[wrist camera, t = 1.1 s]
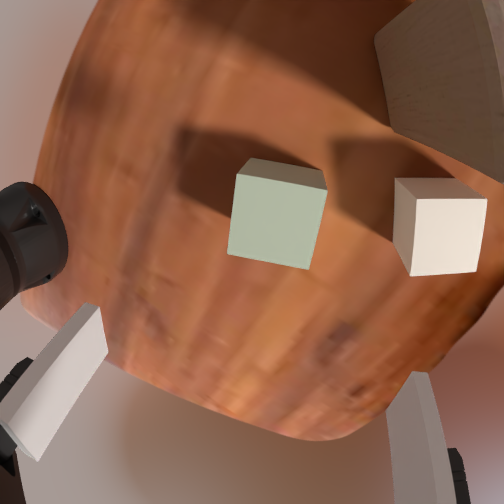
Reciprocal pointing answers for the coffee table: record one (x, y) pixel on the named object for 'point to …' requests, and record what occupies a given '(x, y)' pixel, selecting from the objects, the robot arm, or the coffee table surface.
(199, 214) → the coffee table surface
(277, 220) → the sage cube
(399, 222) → the cream cube
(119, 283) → the coffee table surface
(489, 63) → the wooden block
